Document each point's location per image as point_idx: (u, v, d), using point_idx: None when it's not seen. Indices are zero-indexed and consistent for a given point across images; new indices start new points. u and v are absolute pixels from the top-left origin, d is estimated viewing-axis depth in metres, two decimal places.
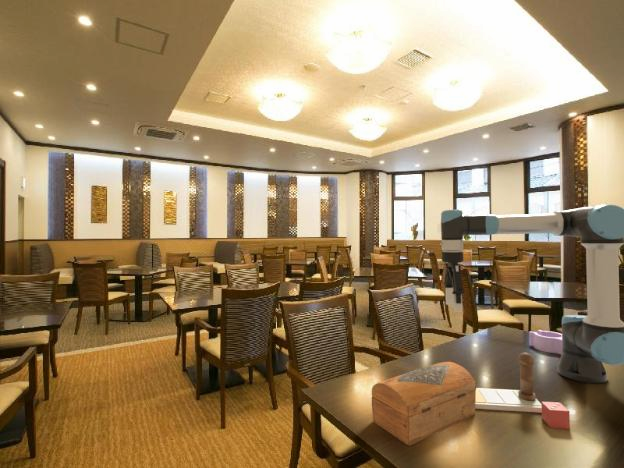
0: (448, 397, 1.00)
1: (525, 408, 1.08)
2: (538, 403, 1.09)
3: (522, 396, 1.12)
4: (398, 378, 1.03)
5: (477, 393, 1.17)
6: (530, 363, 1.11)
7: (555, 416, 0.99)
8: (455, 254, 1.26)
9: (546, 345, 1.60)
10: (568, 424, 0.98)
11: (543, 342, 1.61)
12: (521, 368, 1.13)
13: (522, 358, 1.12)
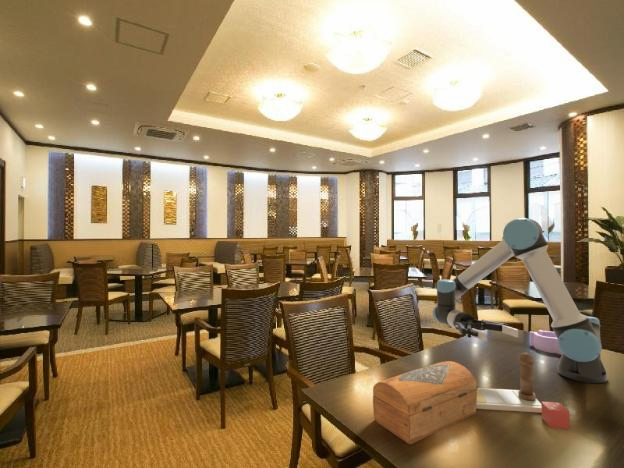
0: (448, 397, 1.01)
1: (525, 408, 1.08)
2: (538, 403, 1.09)
3: (522, 396, 1.12)
4: (399, 377, 1.03)
5: (477, 393, 1.17)
6: (530, 363, 1.11)
7: (555, 416, 0.99)
8: (455, 321, 1.41)
9: (546, 345, 1.60)
10: (568, 424, 0.98)
11: (543, 342, 1.61)
12: (521, 368, 1.13)
13: (522, 358, 1.12)
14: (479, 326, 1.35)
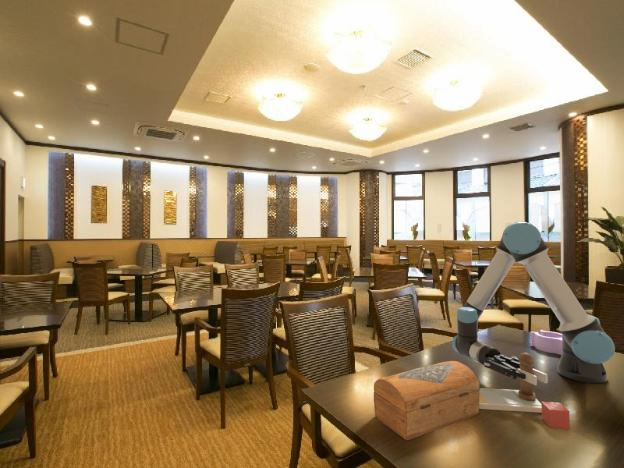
0: (449, 396, 1.02)
1: (525, 408, 1.08)
2: (538, 403, 1.09)
3: (522, 396, 1.12)
4: (399, 375, 1.05)
5: None
6: (530, 363, 1.11)
7: (555, 416, 0.99)
8: (479, 356, 1.29)
9: (546, 345, 1.60)
10: (568, 424, 0.98)
11: (543, 342, 1.61)
12: (521, 368, 1.13)
13: (522, 358, 1.12)
14: (507, 363, 1.22)
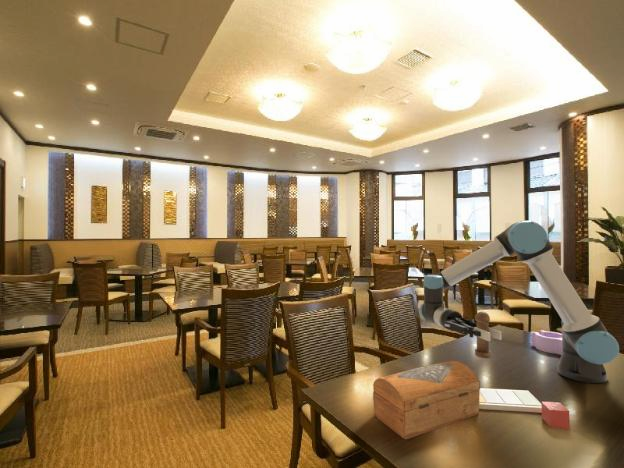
0: (448, 395, 1.02)
1: (525, 408, 1.08)
2: (538, 403, 1.09)
3: (478, 354, 1.15)
4: (399, 374, 1.05)
5: None
6: (485, 321, 1.14)
7: (555, 416, 0.99)
8: (441, 319, 1.32)
9: (547, 345, 1.60)
10: (568, 424, 0.98)
11: (544, 342, 1.61)
12: (477, 326, 1.16)
13: (478, 317, 1.15)
14: (467, 324, 1.25)
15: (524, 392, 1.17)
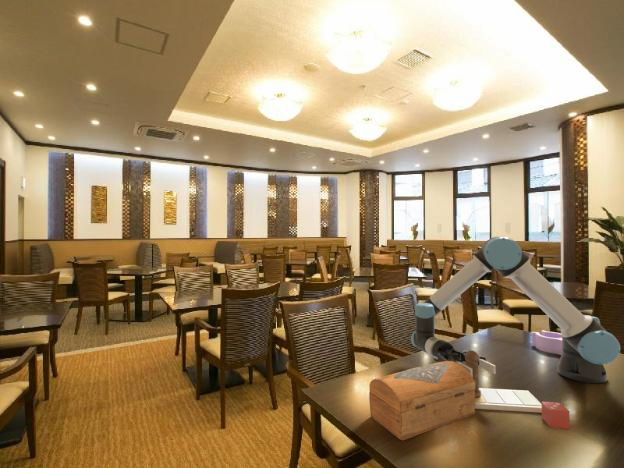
0: (444, 396, 1.01)
1: (525, 408, 1.08)
2: (538, 403, 1.09)
3: None
4: (395, 375, 1.05)
5: None
6: (475, 361, 1.14)
7: (555, 416, 0.99)
8: (432, 350, 1.32)
9: (547, 345, 1.60)
10: (568, 424, 0.98)
11: (544, 342, 1.61)
12: None
13: (468, 356, 1.15)
14: (457, 357, 1.25)
15: (524, 392, 1.17)
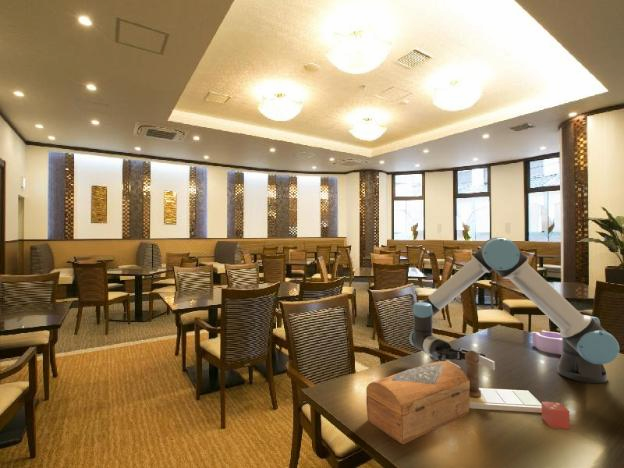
0: (441, 396, 1.01)
1: (525, 408, 1.08)
2: (538, 403, 1.09)
3: None
4: (392, 377, 1.03)
5: None
6: (475, 361, 1.14)
7: (555, 416, 0.99)
8: (430, 349, 1.33)
9: (548, 345, 1.60)
10: (568, 424, 0.98)
11: (545, 342, 1.61)
12: (467, 366, 1.16)
13: (468, 356, 1.15)
14: (455, 356, 1.26)
15: (524, 392, 1.17)
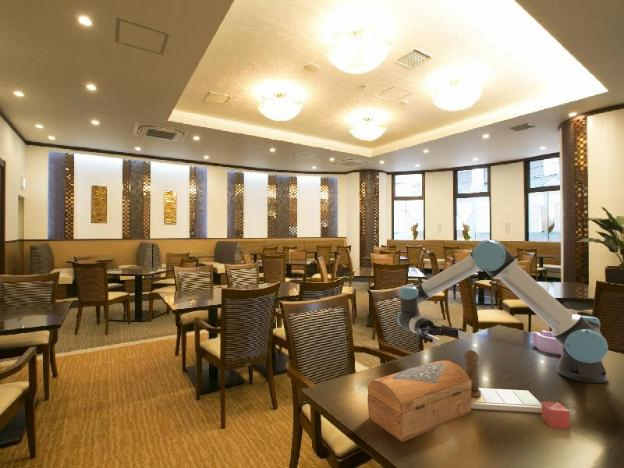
0: (442, 395, 1.02)
1: (525, 408, 1.08)
2: (538, 403, 1.09)
3: None
4: (393, 376, 1.04)
5: None
6: (474, 360, 1.14)
7: (555, 416, 0.99)
8: (415, 327, 1.45)
9: (548, 346, 1.59)
10: (568, 424, 0.98)
11: (545, 343, 1.60)
12: (466, 365, 1.16)
13: (467, 356, 1.15)
14: (437, 332, 1.39)
15: (524, 392, 1.17)
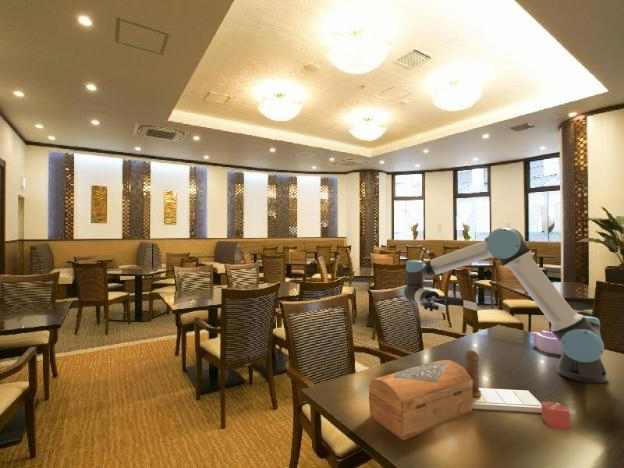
0: (443, 394, 1.02)
1: (525, 408, 1.08)
2: (538, 403, 1.09)
3: None
4: (395, 375, 1.05)
5: None
6: (475, 361, 1.14)
7: (555, 416, 0.99)
8: (421, 298, 1.48)
9: (549, 346, 1.59)
10: (568, 424, 0.98)
11: (546, 343, 1.60)
12: (467, 366, 1.16)
13: (468, 356, 1.15)
14: (442, 302, 1.41)
15: (524, 392, 1.17)
